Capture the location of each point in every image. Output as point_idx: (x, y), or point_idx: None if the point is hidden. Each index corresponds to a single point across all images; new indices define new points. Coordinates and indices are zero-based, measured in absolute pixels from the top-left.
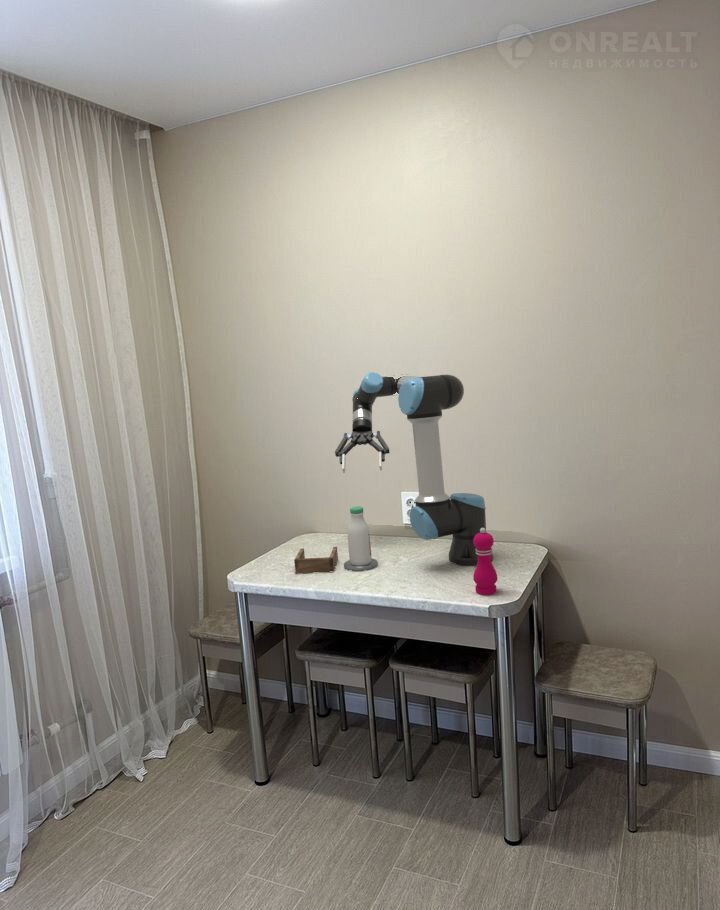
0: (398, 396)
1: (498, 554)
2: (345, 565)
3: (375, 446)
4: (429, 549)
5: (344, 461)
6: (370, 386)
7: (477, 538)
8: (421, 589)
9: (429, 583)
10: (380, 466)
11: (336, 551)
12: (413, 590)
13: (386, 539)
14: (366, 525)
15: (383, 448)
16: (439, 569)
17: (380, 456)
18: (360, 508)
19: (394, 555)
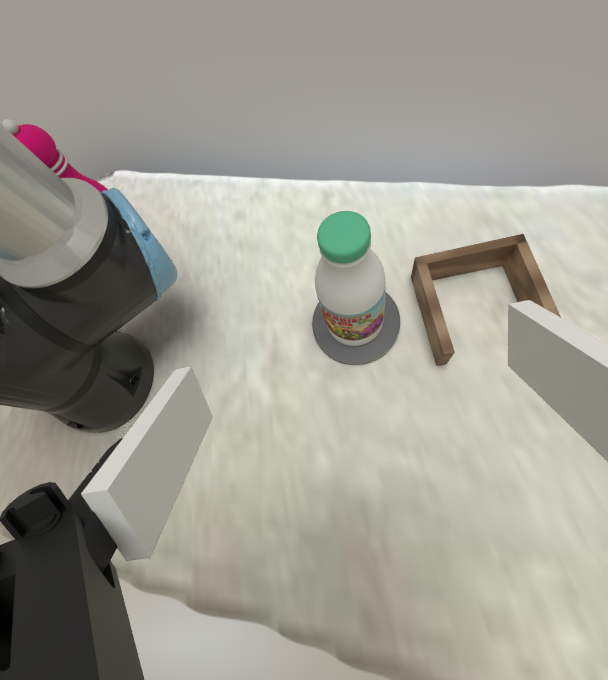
0: None
1: (48, 418)
2: (390, 301)
3: (99, 628)
4: (197, 463)
5: (565, 352)
6: None
7: (36, 126)
8: (207, 212)
9: (194, 239)
10: (183, 371)
11: (437, 339)
12: (221, 206)
13: (342, 595)
14: (317, 269)
15: (6, 518)
16: (176, 312)
17: (131, 436)
18: (323, 223)
19: (285, 409)
